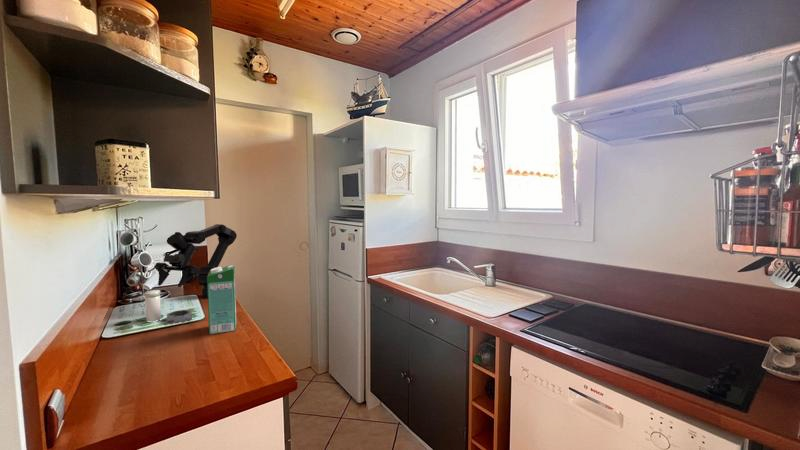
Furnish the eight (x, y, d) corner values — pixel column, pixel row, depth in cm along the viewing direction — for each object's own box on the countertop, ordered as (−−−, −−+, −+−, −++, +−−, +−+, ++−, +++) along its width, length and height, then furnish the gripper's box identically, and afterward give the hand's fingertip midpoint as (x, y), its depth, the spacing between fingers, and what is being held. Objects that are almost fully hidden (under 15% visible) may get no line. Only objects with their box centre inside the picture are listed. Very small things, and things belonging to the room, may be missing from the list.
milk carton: (211, 325, 133) (209, 265, 131) (236, 322, 136) (234, 263, 134) (209, 334, 125) (206, 270, 122) (235, 330, 128) (233, 268, 126)
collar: (191, 314, 145) (191, 308, 145) (191, 320, 138) (191, 314, 138) (167, 318, 140) (166, 312, 140) (165, 325, 133) (165, 318, 133)
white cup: (161, 317, 141) (160, 289, 140) (160, 321, 137) (159, 292, 136) (147, 319, 138) (145, 290, 137) (145, 323, 134) (144, 294, 133)
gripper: (155, 245, 147) (136, 277, 139) (194, 248, 146) (177, 280, 138) (170, 257, 157) (153, 287, 148) (206, 259, 155) (192, 290, 147)
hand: (168, 286), depth 145 cm, fingers open, 9 cm apart
